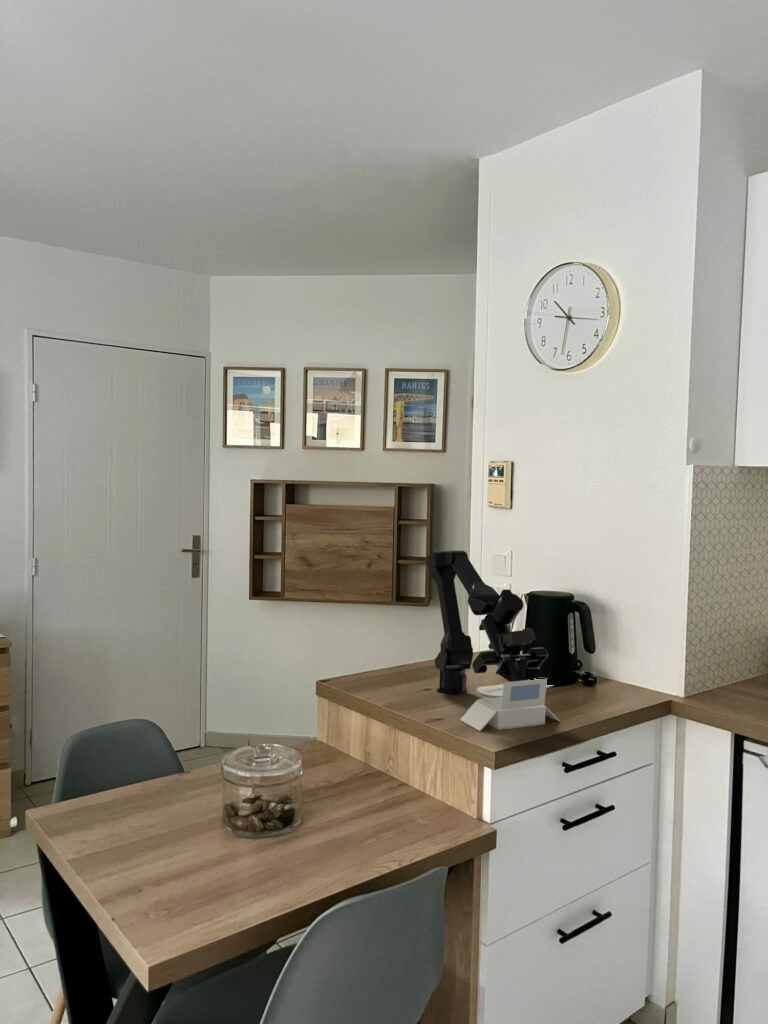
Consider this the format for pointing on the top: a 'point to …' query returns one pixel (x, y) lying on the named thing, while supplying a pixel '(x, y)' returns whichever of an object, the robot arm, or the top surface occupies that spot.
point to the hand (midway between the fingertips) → (523, 690)
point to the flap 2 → (550, 714)
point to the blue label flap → (524, 693)
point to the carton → (514, 715)
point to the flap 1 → (478, 716)
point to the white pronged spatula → (494, 690)
